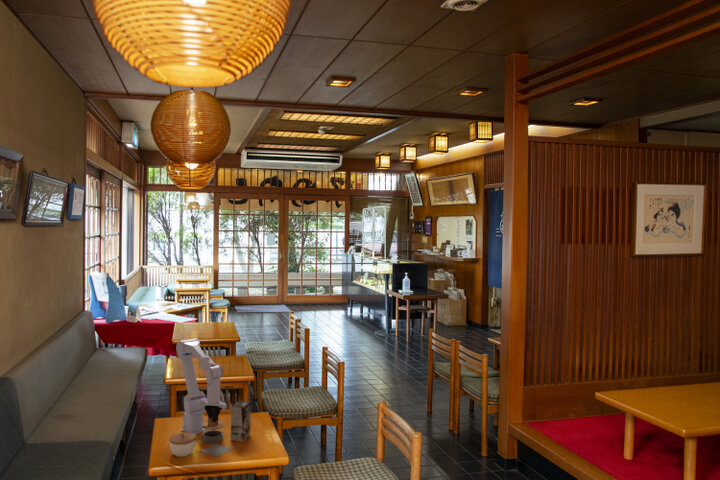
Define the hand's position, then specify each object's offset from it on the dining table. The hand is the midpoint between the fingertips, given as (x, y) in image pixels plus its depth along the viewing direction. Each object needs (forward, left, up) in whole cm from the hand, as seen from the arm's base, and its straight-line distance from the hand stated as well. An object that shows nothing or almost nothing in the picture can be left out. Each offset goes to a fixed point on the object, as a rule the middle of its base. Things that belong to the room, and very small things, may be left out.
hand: (213, 421), depth 255 cm
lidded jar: (0, -19, -9) cm, 21 cm away
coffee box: (+9, +9, -9) cm, 16 cm away
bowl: (0, 0, -9) cm, 9 cm away
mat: (+10, -8, -9) cm, 16 cm away
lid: (0, 0, -2) cm, 2 cm away
